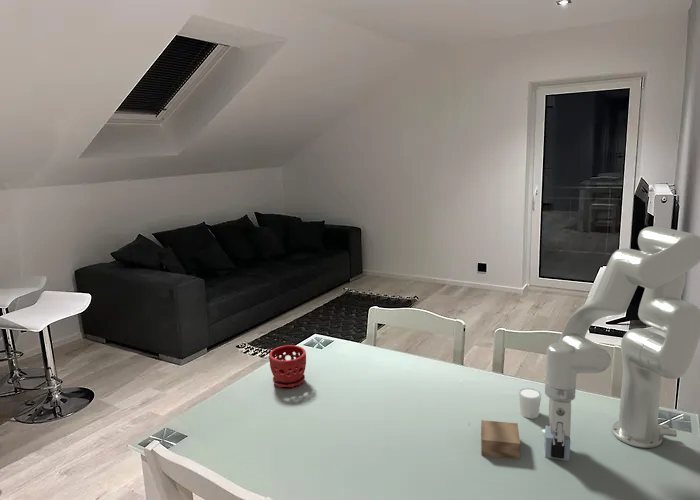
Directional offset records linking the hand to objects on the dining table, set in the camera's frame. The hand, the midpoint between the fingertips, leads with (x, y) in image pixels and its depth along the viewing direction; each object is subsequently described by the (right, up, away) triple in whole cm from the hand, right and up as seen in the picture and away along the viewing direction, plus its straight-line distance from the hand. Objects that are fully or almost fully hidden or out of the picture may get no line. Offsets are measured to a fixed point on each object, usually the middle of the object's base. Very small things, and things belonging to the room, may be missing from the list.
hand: (556, 449), depth 141 cm
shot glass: (-1, +3, +20) cm, 20 cm away
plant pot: (-78, +6, +46) cm, 91 cm away
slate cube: (0, -1, 0) cm, 1 cm away
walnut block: (-14, -1, +4) cm, 15 cm away
